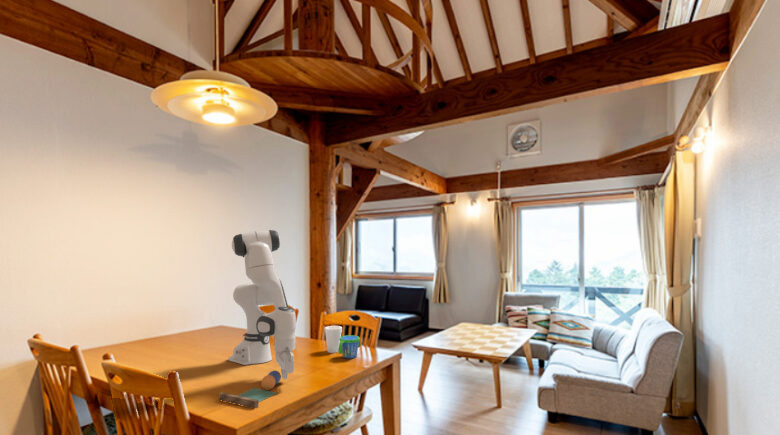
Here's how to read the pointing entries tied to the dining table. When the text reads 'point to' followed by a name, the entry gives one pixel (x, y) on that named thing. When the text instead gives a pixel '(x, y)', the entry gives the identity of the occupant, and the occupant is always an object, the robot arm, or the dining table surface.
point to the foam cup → (333, 338)
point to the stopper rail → (238, 400)
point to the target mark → (257, 394)
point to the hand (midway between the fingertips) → (284, 378)
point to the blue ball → (275, 376)
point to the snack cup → (349, 346)
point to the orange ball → (268, 382)
